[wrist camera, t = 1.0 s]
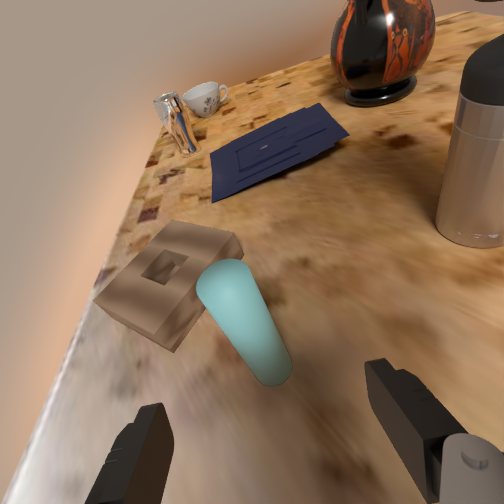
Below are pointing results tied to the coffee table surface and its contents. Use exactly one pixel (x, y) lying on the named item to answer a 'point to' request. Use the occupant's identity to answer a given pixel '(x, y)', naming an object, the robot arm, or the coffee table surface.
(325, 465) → the coffee table surface
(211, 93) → the teacup
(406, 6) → the amphora vase
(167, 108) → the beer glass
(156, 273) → the walnut block
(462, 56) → the coffee table surface
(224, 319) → the teal pin
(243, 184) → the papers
